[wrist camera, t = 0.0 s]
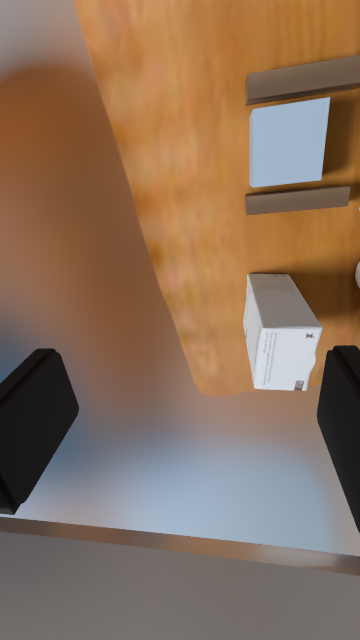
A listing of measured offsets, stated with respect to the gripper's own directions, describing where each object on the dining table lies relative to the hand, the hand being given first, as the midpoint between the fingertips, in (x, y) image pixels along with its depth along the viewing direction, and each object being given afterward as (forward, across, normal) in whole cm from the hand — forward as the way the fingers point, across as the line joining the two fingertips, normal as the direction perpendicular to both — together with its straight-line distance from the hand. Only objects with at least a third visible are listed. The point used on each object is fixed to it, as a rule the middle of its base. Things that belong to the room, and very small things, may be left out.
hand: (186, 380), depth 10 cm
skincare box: (+31, -7, +11) cm, 34 cm away
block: (+31, -8, -8) cm, 33 cm away
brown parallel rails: (+31, -10, -8) cm, 34 cm away
